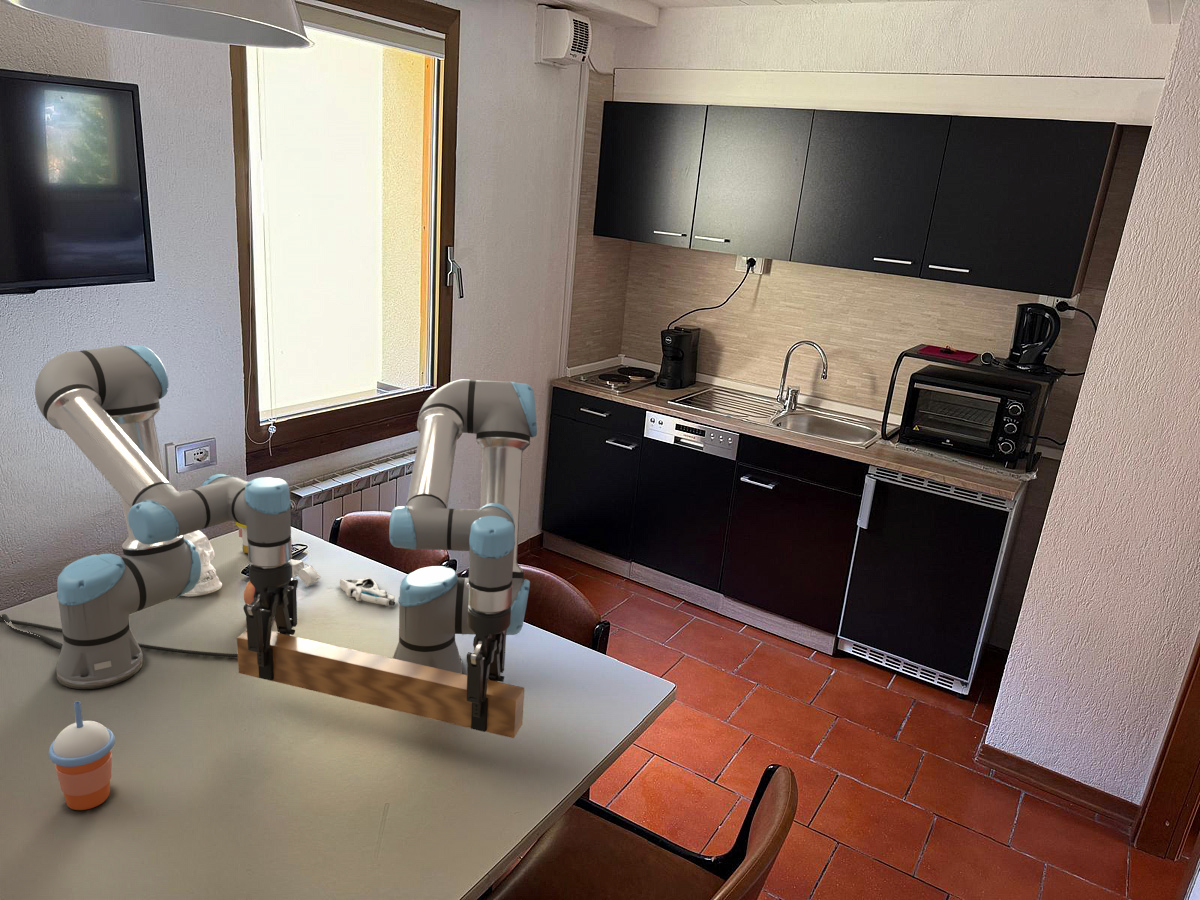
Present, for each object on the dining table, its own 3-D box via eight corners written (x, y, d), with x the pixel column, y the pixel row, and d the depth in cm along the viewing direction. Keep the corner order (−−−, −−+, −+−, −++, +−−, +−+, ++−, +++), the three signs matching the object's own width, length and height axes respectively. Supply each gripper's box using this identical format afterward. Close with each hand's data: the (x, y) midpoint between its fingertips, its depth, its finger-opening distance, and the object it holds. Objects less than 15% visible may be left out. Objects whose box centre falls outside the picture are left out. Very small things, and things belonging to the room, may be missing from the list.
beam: (522, 724, 156) (524, 687, 153) (513, 738, 151) (515, 700, 149) (253, 661, 168) (251, 626, 166) (238, 673, 164) (236, 637, 162)
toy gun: (412, 591, 213) (384, 603, 204) (412, 600, 213) (383, 612, 205) (359, 571, 221) (329, 581, 213) (358, 580, 222) (329, 591, 213)
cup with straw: (91, 822, 135) (79, 724, 130) (41, 810, 136) (28, 713, 131) (132, 785, 143) (123, 692, 138) (85, 774, 145) (74, 682, 140)
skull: (202, 605, 202) (199, 543, 198) (127, 587, 208) (123, 526, 203) (240, 584, 214) (238, 525, 210) (168, 567, 220) (165, 509, 216)
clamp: (253, 565, 223) (254, 542, 221) (265, 560, 226) (266, 537, 224) (309, 593, 215) (310, 569, 213) (320, 588, 218) (321, 564, 216)
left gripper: (281, 540, 167) (285, 645, 174) (221, 576, 151) (227, 691, 157) (315, 546, 165) (317, 653, 172) (258, 583, 149) (263, 700, 156)
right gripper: (488, 580, 157) (483, 691, 164) (448, 623, 141) (444, 744, 148) (526, 588, 155) (520, 699, 162) (490, 632, 139) (485, 754, 146)
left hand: (274, 671), depth 165 cm, fingers closed on beam, 4 cm apart
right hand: (484, 720), depth 155 cm, fingers closed on beam, 4 cm apart
